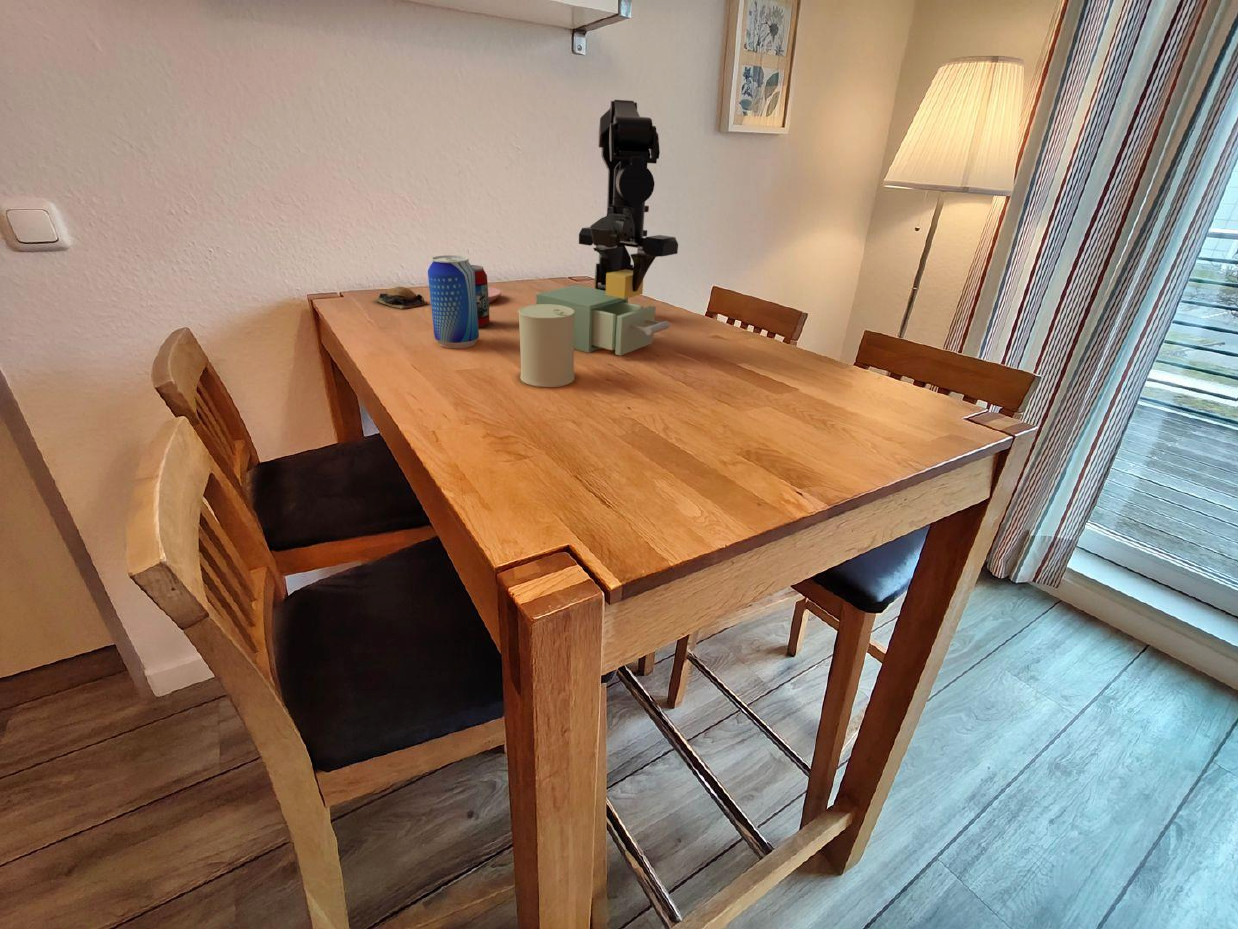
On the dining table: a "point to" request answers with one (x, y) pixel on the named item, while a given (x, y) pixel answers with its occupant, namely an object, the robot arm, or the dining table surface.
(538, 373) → the can
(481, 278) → the beverage can
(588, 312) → the cabinet
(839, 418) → the dining table surface
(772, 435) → the dining table surface
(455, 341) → the beer can
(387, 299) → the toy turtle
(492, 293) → the plate
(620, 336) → the drawer
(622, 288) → the block
